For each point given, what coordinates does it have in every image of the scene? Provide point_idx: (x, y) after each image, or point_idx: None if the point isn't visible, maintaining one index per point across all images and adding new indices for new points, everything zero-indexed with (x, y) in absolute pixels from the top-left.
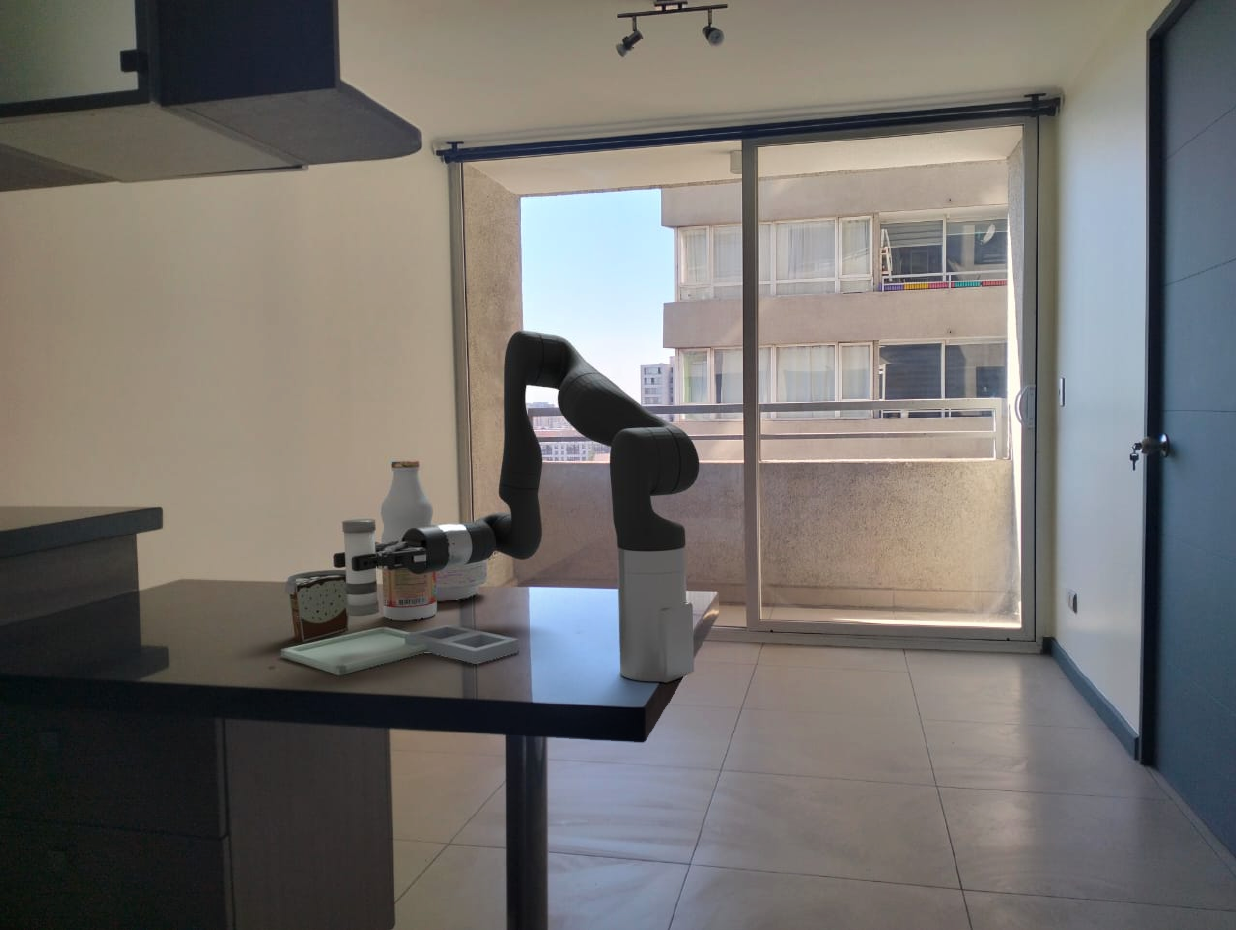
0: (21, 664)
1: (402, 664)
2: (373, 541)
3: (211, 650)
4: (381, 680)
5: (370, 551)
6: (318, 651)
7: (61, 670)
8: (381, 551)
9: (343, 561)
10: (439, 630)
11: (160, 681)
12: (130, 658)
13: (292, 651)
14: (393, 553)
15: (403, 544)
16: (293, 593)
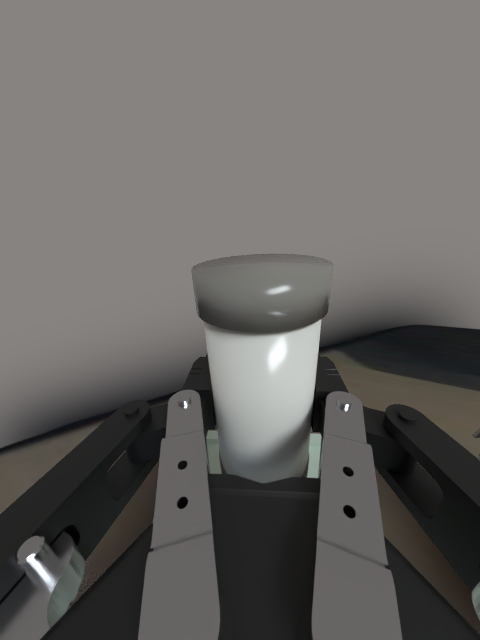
0: (449, 329)
1: (123, 538)
2: (210, 358)
3: (443, 412)
4: None
5: (210, 376)
6: (309, 476)
7: (409, 336)
8: (180, 399)
9: None
10: None
11: (319, 355)
12: (435, 363)
13: (313, 437)
14: (115, 412)
15: (148, 558)
16: (473, 434)
